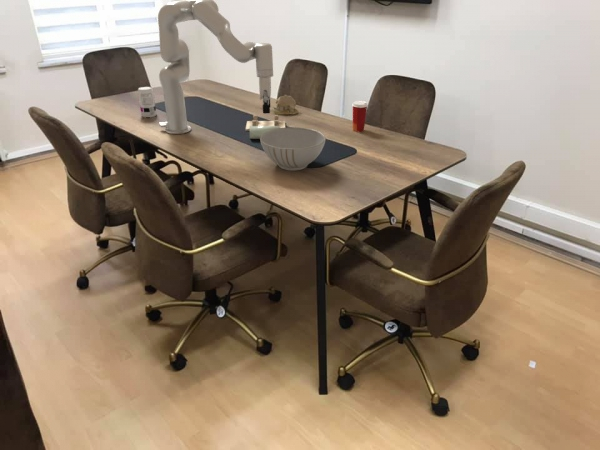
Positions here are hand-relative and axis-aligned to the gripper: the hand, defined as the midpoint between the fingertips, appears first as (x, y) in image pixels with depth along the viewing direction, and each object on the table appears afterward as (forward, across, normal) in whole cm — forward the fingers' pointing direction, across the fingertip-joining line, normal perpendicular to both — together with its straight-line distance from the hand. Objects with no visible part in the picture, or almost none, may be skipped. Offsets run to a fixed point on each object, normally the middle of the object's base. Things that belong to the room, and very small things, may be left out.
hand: (266, 110), depth 218 cm
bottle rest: (+14, -18, -2) cm, 23 cm away
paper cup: (+15, -11, +45) cm, 49 cm away
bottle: (+14, 0, +1) cm, 14 cm away
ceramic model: (+14, -44, +9) cm, 47 cm away
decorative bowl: (+14, +34, +11) cm, 38 cm away
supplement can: (+12, -39, -67) cm, 78 cm away
